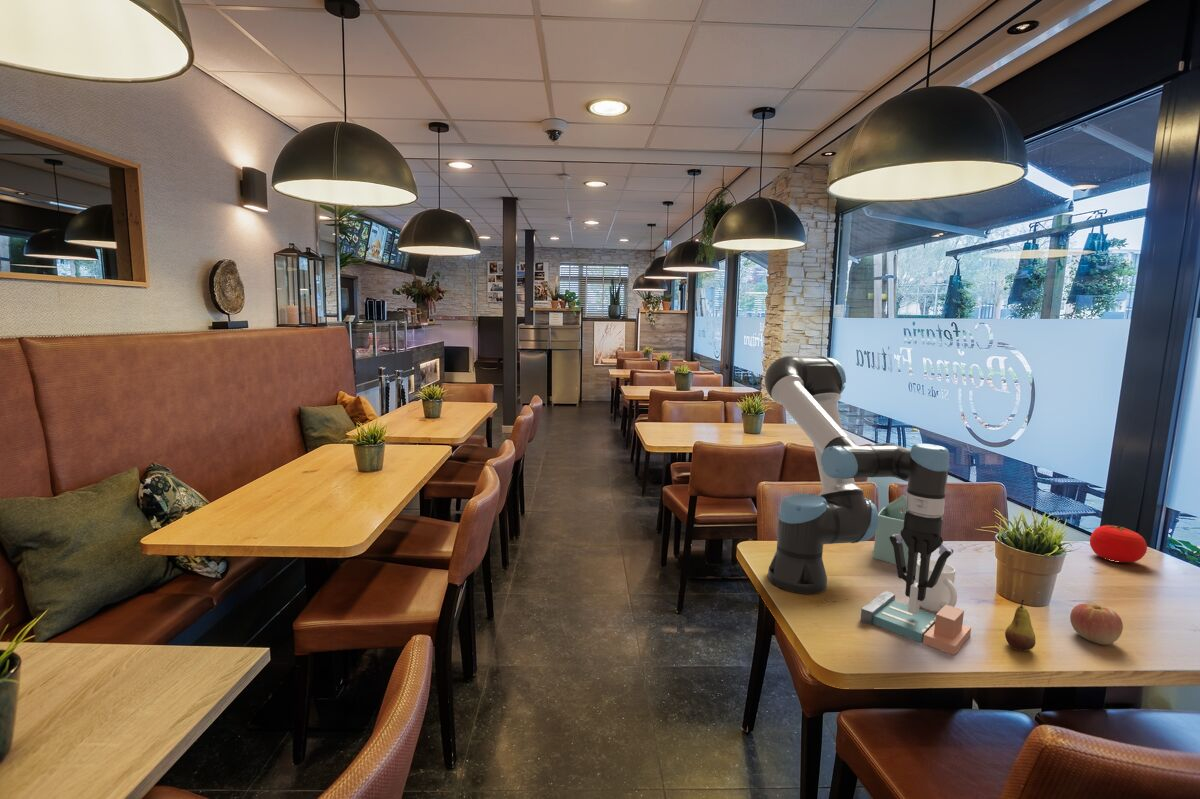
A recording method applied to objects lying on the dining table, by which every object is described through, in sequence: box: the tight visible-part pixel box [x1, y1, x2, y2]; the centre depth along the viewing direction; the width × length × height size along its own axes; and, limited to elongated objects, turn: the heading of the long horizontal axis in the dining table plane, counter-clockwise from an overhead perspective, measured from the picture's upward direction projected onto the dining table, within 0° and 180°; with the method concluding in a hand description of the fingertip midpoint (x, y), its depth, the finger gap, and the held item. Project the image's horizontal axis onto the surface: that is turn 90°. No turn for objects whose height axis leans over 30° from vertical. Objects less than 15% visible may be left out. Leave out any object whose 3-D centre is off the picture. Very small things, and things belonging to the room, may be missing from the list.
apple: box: [1069, 603, 1124, 646], centre depth 127 cm, size 9×9×8 cm
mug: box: [914, 559, 958, 613], centre depth 139 cm, size 12×8×10 cm
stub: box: [922, 605, 972, 656], centre depth 125 cm, size 6×12×6 cm, turn 133°
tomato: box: [1089, 523, 1148, 563], centre depth 175 cm, size 12×13×11 cm
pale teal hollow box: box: [872, 494, 909, 568], centre depth 171 cm, size 16×8×20 cm, turn 6°
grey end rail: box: [859, 590, 896, 626], centre depth 136 cm, size 2×14×3 cm, turn 133°
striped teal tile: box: [872, 600, 936, 643], centre depth 133 cm, size 13×12×2 cm
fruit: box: [1004, 599, 1036, 651], centre depth 122 cm, size 6×6×12 cm
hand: (913, 611), depth 130 cm, fingers closed
